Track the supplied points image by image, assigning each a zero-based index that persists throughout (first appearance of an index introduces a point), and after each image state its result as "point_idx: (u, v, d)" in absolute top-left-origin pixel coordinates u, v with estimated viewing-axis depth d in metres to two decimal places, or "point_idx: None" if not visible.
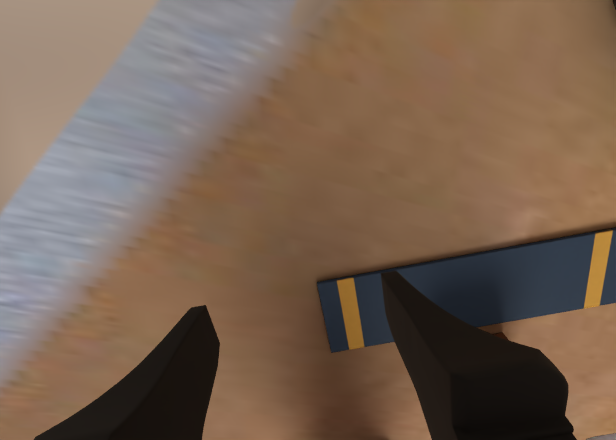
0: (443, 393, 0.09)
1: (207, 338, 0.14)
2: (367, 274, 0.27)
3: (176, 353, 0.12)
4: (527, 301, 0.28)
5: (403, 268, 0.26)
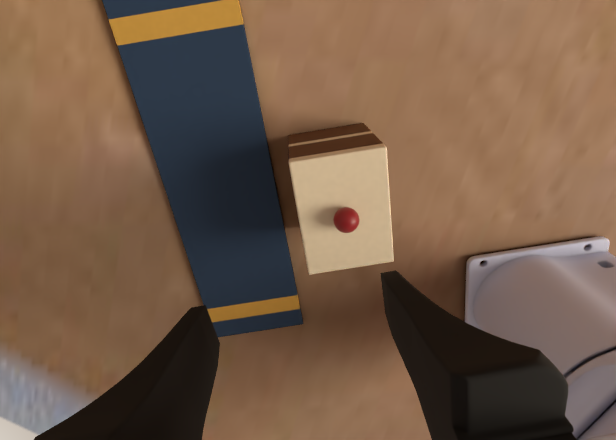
0: (443, 393, 0.09)
1: (207, 338, 0.15)
2: (201, 297, 0.26)
3: (176, 353, 0.12)
4: (231, 116, 0.21)
5: None
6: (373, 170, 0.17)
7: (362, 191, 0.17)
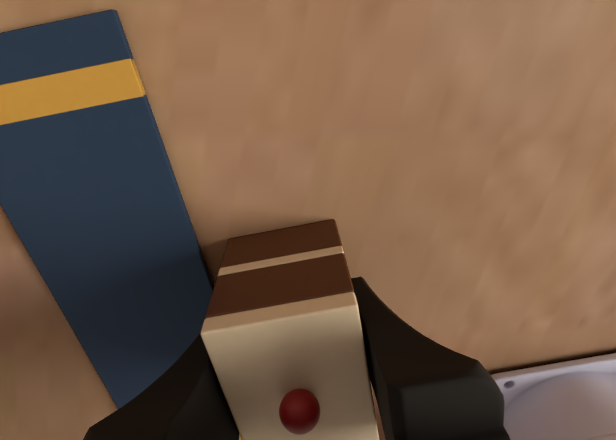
0: (386, 403, 0.09)
1: None
2: None
3: None
4: (143, 220, 0.15)
5: None
6: (339, 338, 0.11)
7: (324, 365, 0.11)
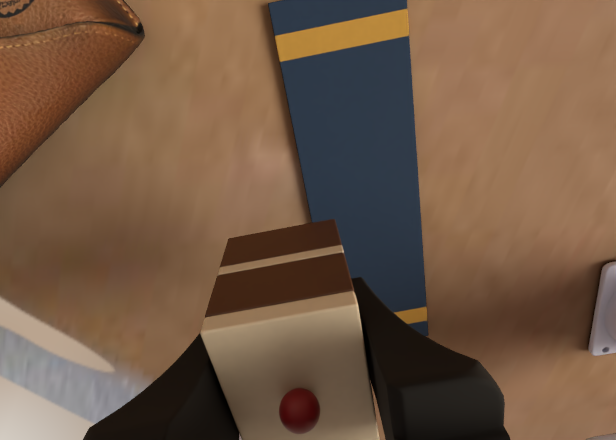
0: (386, 403, 0.09)
1: None
2: None
3: None
4: (384, 129, 0.20)
5: None
6: (339, 337, 0.11)
7: (324, 365, 0.11)
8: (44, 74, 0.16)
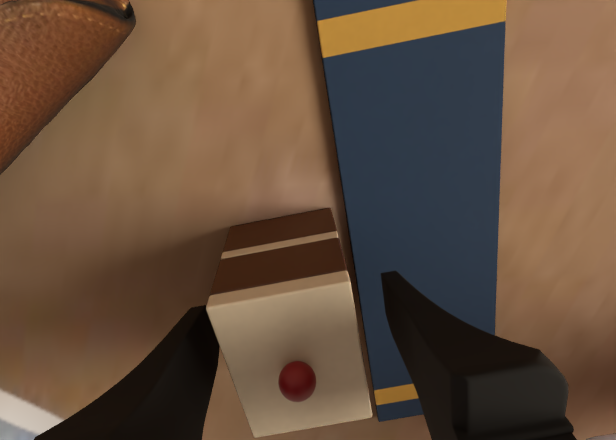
0: (443, 393, 0.09)
1: (207, 338, 0.14)
2: (371, 376, 0.20)
3: (176, 353, 0.12)
4: (460, 150, 0.15)
5: (366, 340, 0.19)
6: (333, 313, 0.12)
7: (320, 339, 0.12)
8: None
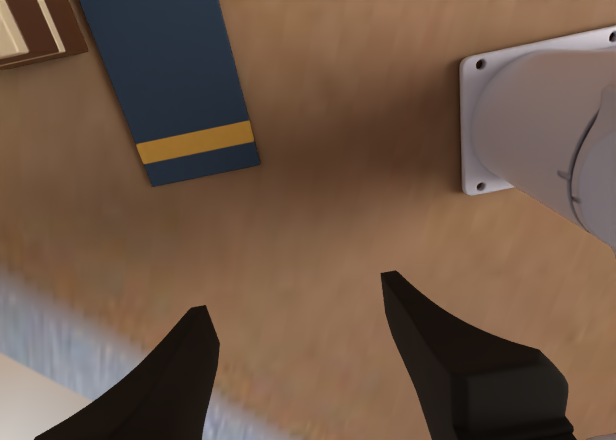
0: (443, 393, 0.09)
1: (207, 338, 0.14)
2: None
3: (176, 353, 0.12)
4: None
5: None
6: None
7: None
8: None
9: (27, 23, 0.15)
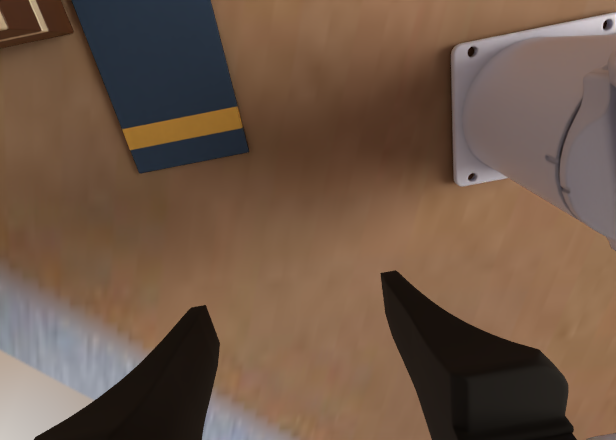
0: (443, 393, 0.09)
1: (207, 338, 0.14)
2: None
3: (176, 353, 0.12)
4: None
5: None
6: None
7: None
8: None
9: None
